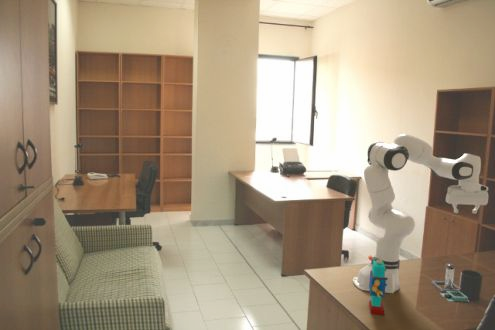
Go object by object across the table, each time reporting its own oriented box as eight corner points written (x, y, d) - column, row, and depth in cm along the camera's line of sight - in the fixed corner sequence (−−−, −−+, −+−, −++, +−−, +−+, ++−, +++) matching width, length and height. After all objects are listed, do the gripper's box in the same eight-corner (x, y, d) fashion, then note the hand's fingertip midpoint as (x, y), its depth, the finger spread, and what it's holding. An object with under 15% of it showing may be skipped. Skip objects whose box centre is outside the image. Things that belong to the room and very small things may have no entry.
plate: (448, 303, 190) (448, 297, 190) (439, 295, 198) (440, 290, 198) (469, 303, 191) (470, 298, 190) (459, 295, 199) (460, 290, 198)
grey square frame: (441, 293, 200) (441, 289, 200) (431, 284, 210) (431, 280, 210) (461, 293, 201) (462, 289, 200) (450, 285, 211) (450, 281, 210)
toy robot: (384, 317, 174) (389, 259, 171) (369, 315, 175) (374, 258, 172) (381, 304, 185) (386, 250, 182) (367, 302, 186) (371, 249, 183)
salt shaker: (446, 290, 203) (448, 266, 201) (441, 286, 207) (443, 263, 206) (455, 290, 203) (457, 266, 202) (450, 286, 207) (452, 263, 206)
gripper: (451, 186, 203) (448, 213, 205) (491, 187, 204) (488, 215, 206) (444, 184, 210) (441, 210, 211) (483, 185, 211) (480, 212, 213)
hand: (465, 212), depth 209 cm, fingers open, 8 cm apart
